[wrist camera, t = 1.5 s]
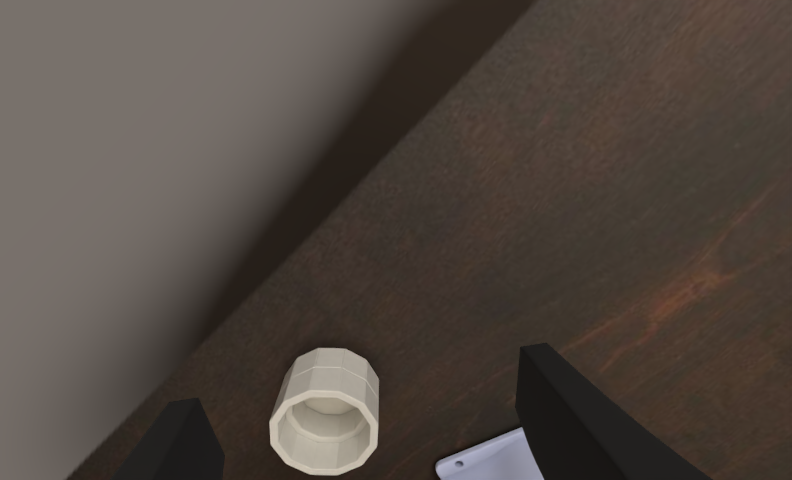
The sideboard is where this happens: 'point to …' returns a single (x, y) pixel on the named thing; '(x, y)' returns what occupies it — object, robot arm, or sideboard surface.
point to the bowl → (326, 412)
